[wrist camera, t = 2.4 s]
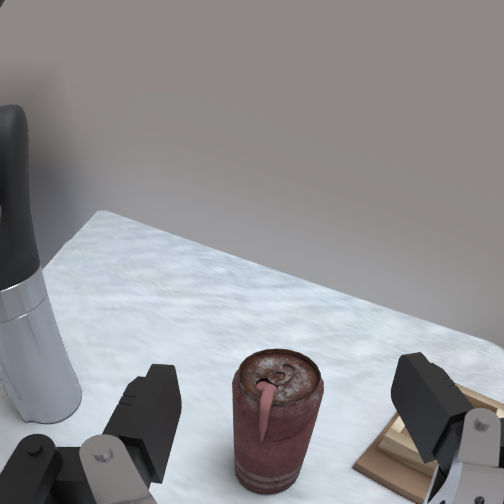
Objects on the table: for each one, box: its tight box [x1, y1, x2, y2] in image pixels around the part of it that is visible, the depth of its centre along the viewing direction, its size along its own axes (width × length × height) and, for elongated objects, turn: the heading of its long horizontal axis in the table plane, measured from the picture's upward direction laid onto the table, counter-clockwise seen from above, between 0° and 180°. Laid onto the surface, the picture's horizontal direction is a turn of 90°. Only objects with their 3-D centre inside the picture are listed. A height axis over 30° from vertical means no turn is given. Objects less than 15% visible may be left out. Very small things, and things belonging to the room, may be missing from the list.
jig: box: [353, 382, 504, 504], centre depth 23 cm, size 18×14×4 cm
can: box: [232, 349, 324, 494], centre depth 21 cm, size 6×6×14 cm
